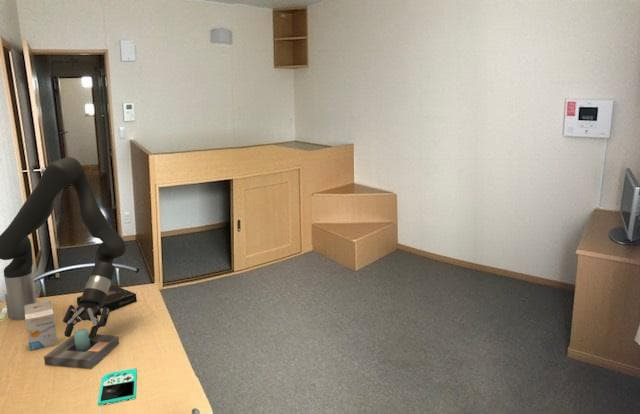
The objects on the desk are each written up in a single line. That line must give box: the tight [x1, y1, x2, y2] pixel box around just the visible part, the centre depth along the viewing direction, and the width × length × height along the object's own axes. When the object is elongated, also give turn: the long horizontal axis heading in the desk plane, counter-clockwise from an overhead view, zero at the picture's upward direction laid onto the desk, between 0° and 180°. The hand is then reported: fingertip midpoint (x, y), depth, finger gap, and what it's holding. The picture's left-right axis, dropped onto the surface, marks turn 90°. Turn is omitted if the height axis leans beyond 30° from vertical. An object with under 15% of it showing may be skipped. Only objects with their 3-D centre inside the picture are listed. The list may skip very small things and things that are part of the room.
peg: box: [73, 328, 91, 352], centre depth 159 cm, size 4×4×8 cm
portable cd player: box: [76, 285, 137, 317], centre depth 199 cm, size 16×17×4 cm
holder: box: [43, 333, 120, 370], centre depth 159 cm, size 16×16×3 cm
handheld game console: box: [97, 368, 138, 406], centre depth 141 cm, size 10×16×1 cm, turn 19°
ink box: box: [24, 300, 58, 351], centre depth 164 cm, size 8×5×15 cm, turn 123°
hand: (78, 337), depth 157 cm, fingers open, 8 cm apart
